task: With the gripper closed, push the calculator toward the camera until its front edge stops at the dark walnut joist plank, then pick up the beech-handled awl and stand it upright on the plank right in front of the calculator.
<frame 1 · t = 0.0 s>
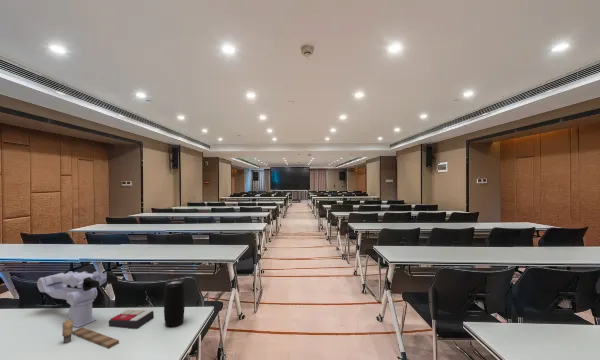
hand: (107, 281, 122), 22 cm above the table, tool horizontal, fingers open, 7 cm apart
calculator: (131, 323, 130), on the table
portable speaker: (174, 324, 128), on the table
joist plank: (94, 338, 115), on the table
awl: (67, 341, 113), on the table
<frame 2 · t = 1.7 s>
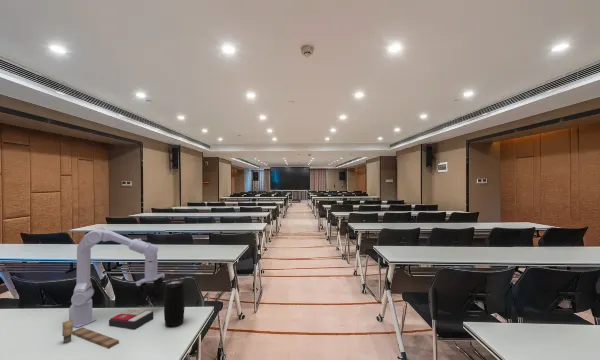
hand: (150, 295, 140), 8 cm above the table, tool pointing down, fingers open, 6 cm apart
nothing on the table moved.
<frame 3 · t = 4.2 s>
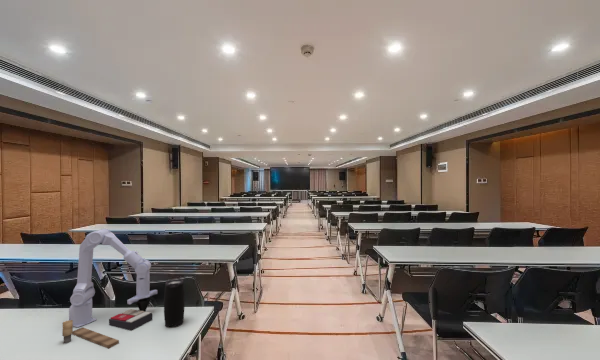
hand: (142, 313, 136), 1 cm above the table, tool pointing down, fingers closed
calculator: (130, 323, 130), on the table, touching gripper
everything else where it was.
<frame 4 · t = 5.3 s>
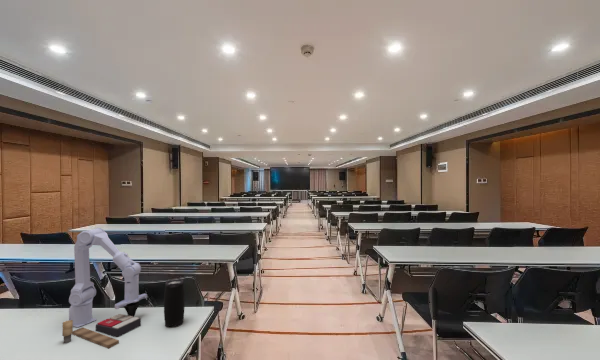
hand: (131, 318, 131), 1 cm above the table, tool pointing down, fingers closed
calculator: (118, 329, 124), on the table, touching gripper
everything else where it was.
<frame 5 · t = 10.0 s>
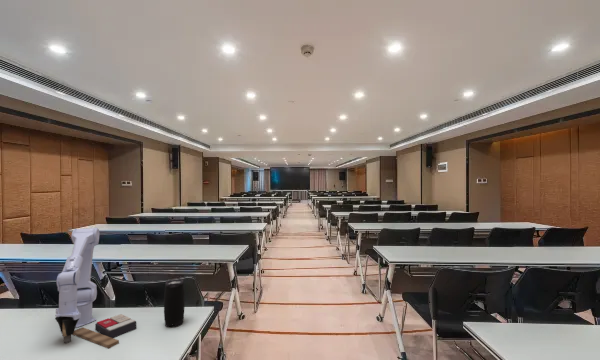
hand: (67, 333, 113), 3 cm above the table, tool pointing down, fingers closed on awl, 3 cm apart
calculator: (115, 330, 123), on the table
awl: (67, 341, 113), on the table, touching gripper
everything else where it was.
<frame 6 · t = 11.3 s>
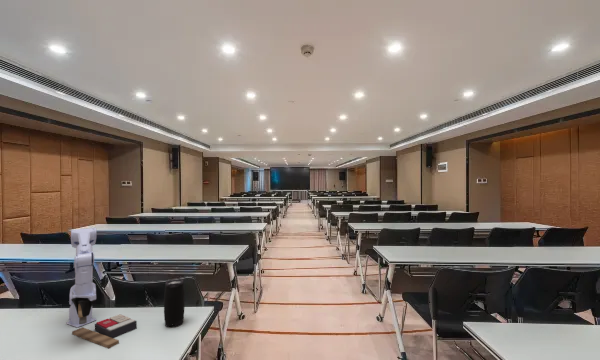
hand: (83, 315, 115), 10 cm above the table, tool pointing down, fingers closed on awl, 3 cm apart
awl: (82, 323, 115), point 7 cm above the table, touching gripper
everything else where it was.
when the fingers open (5 cm above the table, at t = 13.0 s): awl stays where it is, resting on joist plank.
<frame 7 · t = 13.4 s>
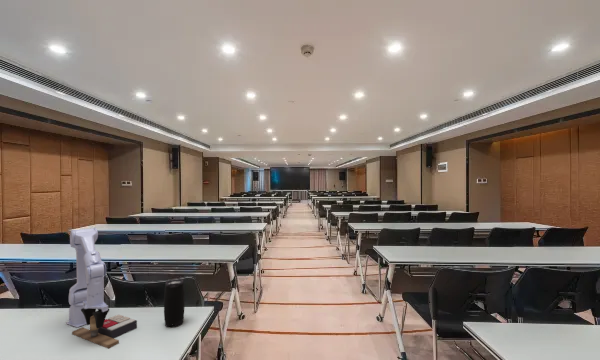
hand: (94, 325, 116), 5 cm above the table, tool pointing down, fingers open, 6 cm apart
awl: (94, 335, 115), point 1 cm above the table, touching joist plank
everything else where it was.
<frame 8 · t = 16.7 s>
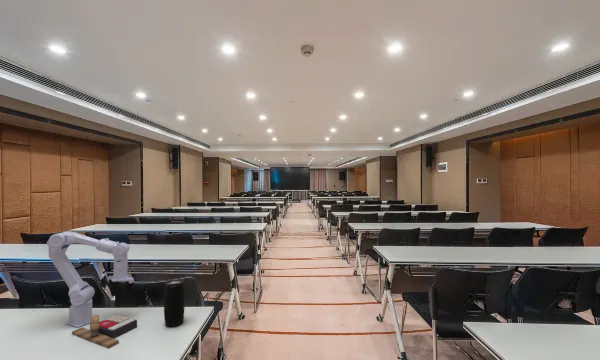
hand: (120, 296, 134), 10 cm above the table, tool pointing down, fingers open, 7 cm apart
at the end: calculator inside the target area (0.8 cm from its centre), on the table; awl 0.1 cm off-centre on the joist plank, point 1.2 cm above the joist plank's base; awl tilted 0° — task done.
